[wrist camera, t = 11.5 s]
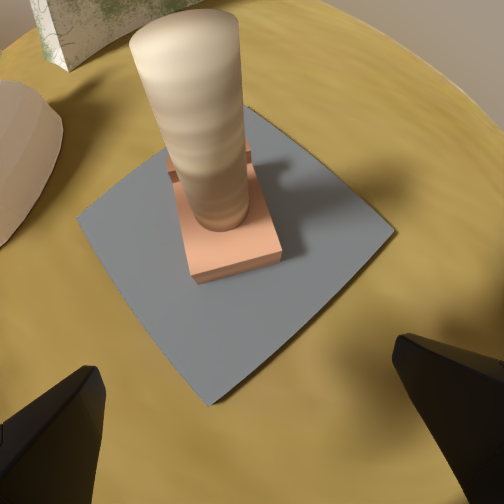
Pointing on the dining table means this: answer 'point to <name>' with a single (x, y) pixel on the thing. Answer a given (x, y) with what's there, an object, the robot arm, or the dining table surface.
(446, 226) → the dining table surface
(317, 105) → the dining table surface
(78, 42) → the grocery bag
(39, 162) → the kettle
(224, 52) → the cylinder on pink base
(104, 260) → the mat
